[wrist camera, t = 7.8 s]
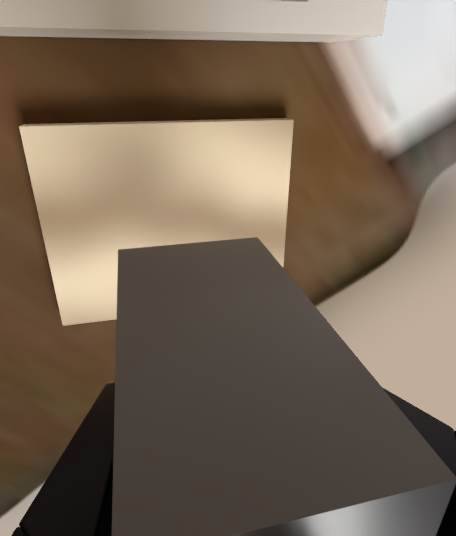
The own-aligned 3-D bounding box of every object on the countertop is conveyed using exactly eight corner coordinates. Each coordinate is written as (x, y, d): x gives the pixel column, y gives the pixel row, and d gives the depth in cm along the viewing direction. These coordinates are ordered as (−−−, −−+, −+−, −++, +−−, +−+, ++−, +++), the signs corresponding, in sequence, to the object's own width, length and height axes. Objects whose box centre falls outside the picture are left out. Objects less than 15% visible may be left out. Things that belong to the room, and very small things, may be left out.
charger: (253, 346, 13) (470, 797, 5) (133, 364, 13) (156, 939, 4) (257, 237, 12) (597, 649, 3) (118, 249, 11) (105, 842, 2)
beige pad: (275, 291, 22) (280, 298, 21) (64, 316, 20) (62, 325, 19) (286, 118, 18) (293, 120, 17) (23, 124, 16) (18, 126, 15)
